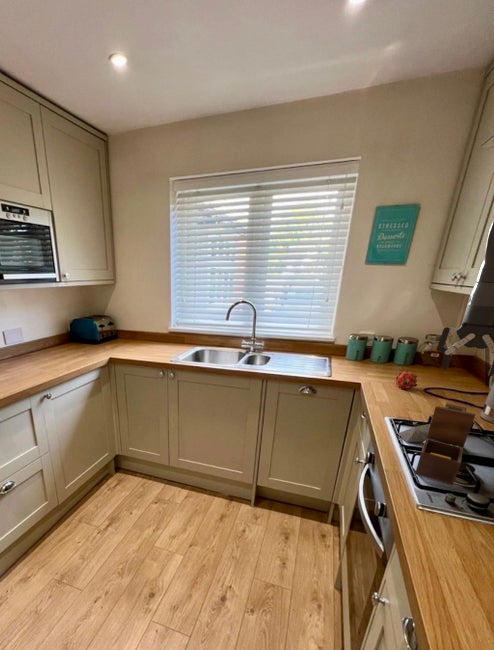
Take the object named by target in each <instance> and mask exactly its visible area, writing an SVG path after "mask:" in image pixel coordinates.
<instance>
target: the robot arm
mask: <svg viewBox="0 0 494 650" xmlns="http://www.w3.org/2000/svg"><path fill="white" fill-rule="evenodd" d="M487 234H488V235H487V239H486V243H485V250H484V255H483V258H482V261H481V263H480V266H479V269H478V273H477V276H476V279H475V282H474V284H473V287H472V289H471V292H470V294H469V298H468V299H467V303H466V304H467V305H466V307H465V311H464V315H463V318H462V321H461V325H460V326H459V327H457V328H456V327H451V326H449V325H447V326H444V328H443V330H442V332H441V335H440V338H439V340H438V343H437V347H436V351H437V352H440V353H441V354H443V358H442V361H441V368H443V371H444V370H445V371H448V368H449V365H450V362H451V358H452V355H453V354H452V353H455V351H457V350H459V349H461V347H463V346H464V347H466V348H470V349H472V348H476V349H479V350H480V349H481V350H484V349H485V350H486V349H488V350H489V351H490V353H491V354H492V356H493V357H494V218H493V219H492V220H491V223H490V226H489V230H488V233H487ZM455 333H456V336H457V337H458V338H459V339H458V340H457V341H456V342H454V343H453V344H452V345H450V346H448V347H447V346H445V345H446V342H447V339H448V337H451V336H453V334H455ZM487 375H488V376H489V377H493V376H494V358H493V360H492V362H491V366H490V368H489V370H488V374H487Z"/></svg>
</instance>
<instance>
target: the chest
mask: <svg viewBox="0 0 494 650" xmlns="http://www.w3.org/2000/svg"><path fill="white" fill-rule="evenodd" d="M463 451H464V447H461V446H457V445H453V444H449V443H445V442H441V441H437V440H433V439H426V441H424V444H423V447H422V449H421V452H420V455H419V459H418V462H417V466H416V469H415V473H416V475H418V476H422V477H425V478H428V479H432V480H435V481H438V482H441V483H444V484H448V485H451V486H454V484H455V481H456V478H457V475H458V473H459V469H460V467H461V464H462V458H463ZM431 452H432V453H435V454H439V455H443V456H446V457H450V458H451V459H448V458H444V457H440V456H437V455H433V454H431Z"/></svg>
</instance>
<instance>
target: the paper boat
mask: <svg viewBox="0 0 494 650" xmlns="http://www.w3.org/2000/svg"><path fill="white" fill-rule="evenodd" d="M418 423H419V421H417V422H416V421H413V422H412V424H413V426H414V427H411V428H408V429H405V430H402V431H400V432H397V433H396V434H398V435H399V436H401V437H402V438H403V439H404V440H405V441H404V440H403V439H402V440H403V441H404V442H405V443H421V442H422V443H425V441H426V439H429V438H427V434H428V431H429V428H430V424H431V423H427V424H422V425H417V424H418ZM416 425H417V426H416ZM399 436H398V437H399Z"/></svg>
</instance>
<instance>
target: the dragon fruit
mask: <svg viewBox="0 0 494 650" xmlns="http://www.w3.org/2000/svg"><path fill="white" fill-rule="evenodd" d="M417 378H418V376H417V375H416V374H415V373H413V372H412V371H408V370H404V371H403V372H399V373H398V374H397V375H396V377H395V378H394V382H395V385H396V386H398V388H399V389H400V390H404V389H409V390H411V389H412V388H415V387H417V386H418V383H417V382H418V379H417Z"/></svg>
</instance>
